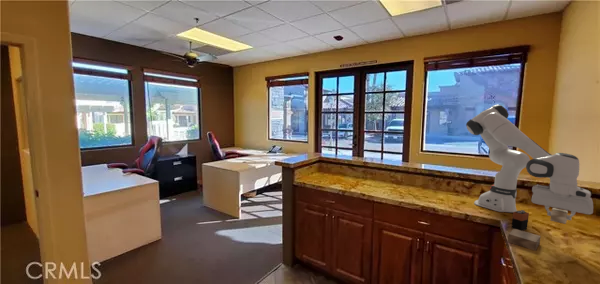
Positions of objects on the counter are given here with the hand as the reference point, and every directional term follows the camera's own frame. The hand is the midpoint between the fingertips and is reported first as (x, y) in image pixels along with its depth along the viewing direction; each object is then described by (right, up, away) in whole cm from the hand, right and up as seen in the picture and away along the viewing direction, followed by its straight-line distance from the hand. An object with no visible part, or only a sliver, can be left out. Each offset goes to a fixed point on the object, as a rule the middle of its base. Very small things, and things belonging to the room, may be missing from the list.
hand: (558, 217), depth 122 cm
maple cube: (0, -2, 0) cm, 2 cm away
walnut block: (-15, -13, +2) cm, 20 cm away
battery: (-3, -11, +18) cm, 22 cm away
